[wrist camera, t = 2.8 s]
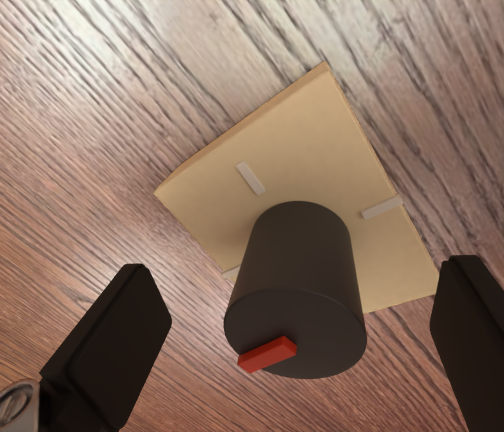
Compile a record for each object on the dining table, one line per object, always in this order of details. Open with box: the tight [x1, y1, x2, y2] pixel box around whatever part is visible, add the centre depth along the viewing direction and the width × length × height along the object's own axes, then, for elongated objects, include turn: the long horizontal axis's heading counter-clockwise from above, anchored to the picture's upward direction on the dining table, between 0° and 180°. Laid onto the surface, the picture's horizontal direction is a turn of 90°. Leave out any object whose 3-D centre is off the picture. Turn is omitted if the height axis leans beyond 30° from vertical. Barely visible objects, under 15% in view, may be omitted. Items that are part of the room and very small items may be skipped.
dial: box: [224, 201, 367, 379], centre depth 10 cm, size 4×4×5 cm
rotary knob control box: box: [153, 61, 439, 314], centre depth 13 cm, size 10×8×3 cm
